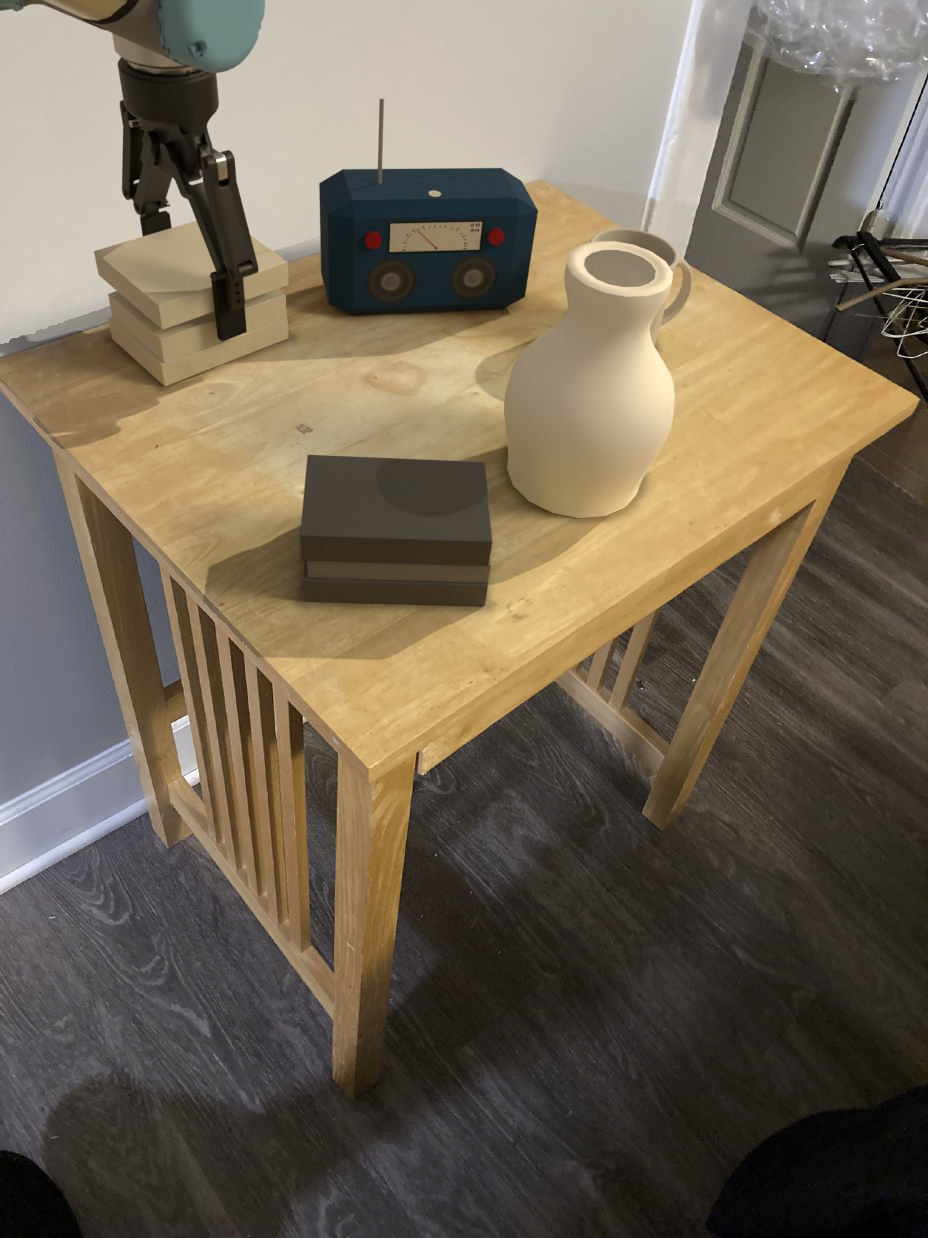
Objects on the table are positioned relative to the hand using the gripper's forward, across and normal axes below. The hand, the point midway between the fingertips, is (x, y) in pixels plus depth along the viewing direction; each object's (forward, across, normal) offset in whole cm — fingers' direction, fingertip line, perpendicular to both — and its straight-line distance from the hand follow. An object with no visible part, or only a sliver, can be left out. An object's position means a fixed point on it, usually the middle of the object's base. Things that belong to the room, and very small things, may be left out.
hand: (197, 306), depth 93 cm
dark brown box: (+4, -35, +5) cm, 36 cm away
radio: (+4, -6, -23) cm, 24 cm away
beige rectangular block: (+4, 0, 0) cm, 4 cm away
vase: (+4, -36, -15) cm, 40 cm away
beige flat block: (-3, 0, 0) cm, 3 cm away
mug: (+4, -25, -36) cm, 43 cm away
